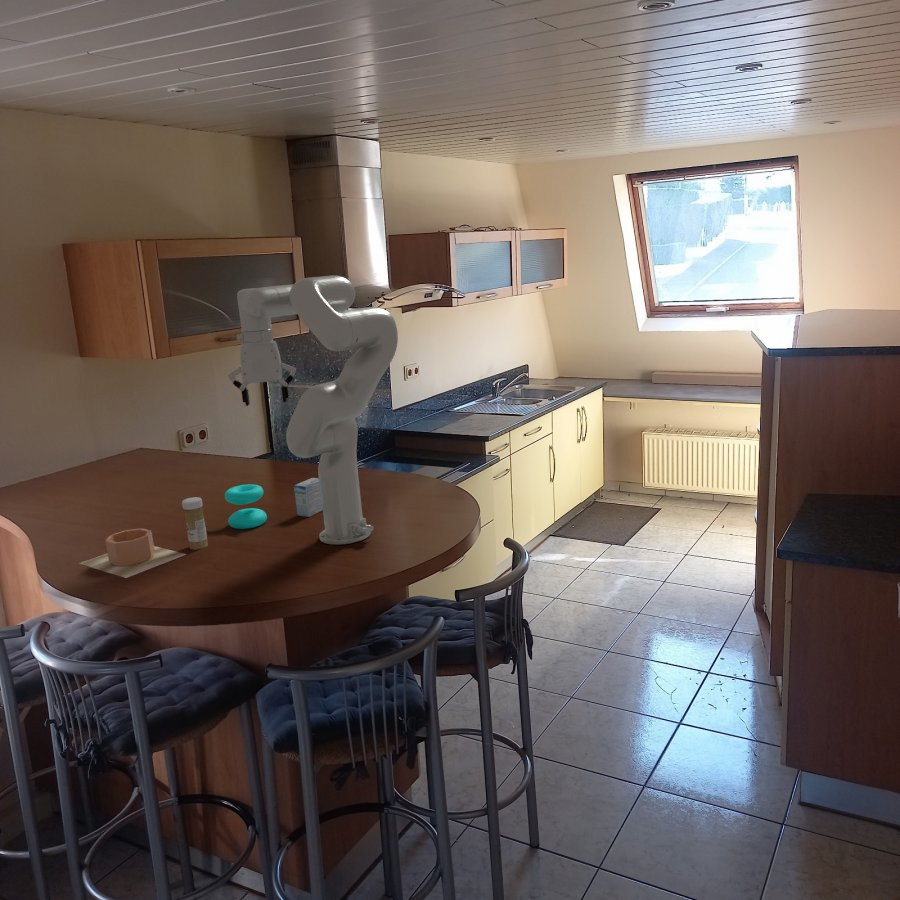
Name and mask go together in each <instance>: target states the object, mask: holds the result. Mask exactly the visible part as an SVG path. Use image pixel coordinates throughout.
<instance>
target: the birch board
mask: <svg viewBox="0 0 900 900" xmlns="http://www.w3.org/2000/svg"><path fill="white" fill-rule="evenodd" d="M154 549H155V551H154V556H153V558H151V559H150V560H148V561H146V562H143V563H140V564H136V565H132V566H114V565H112V564H111V562H110V561H109V559H108V553H104V554H102V555H99V556H95V557H93V558H90V559H87V560H84V561H81V562H78V565H82V566H85V567H89V568H91V569H96V570H98V571H101V572H105V573H108V574H112V575H114V576H118V577H121V578H125V579H127V578H131V577H132V576H134V575H135V576H136V575H139V574H140V573H143V572H145V571H149V570H150V569H154V568H156V567H158V566H161V565H163V564H166V563H169V562H172V561H173V560H176V559H179V558H181V557H184V556H187V553H183V552H179V551H175V550H170V549H167V548H163V547H159V546H155V545H154Z"/></svg>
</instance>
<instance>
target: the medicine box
mask: <svg viewBox="0 0 900 900" xmlns="http://www.w3.org/2000/svg"><path fill="white" fill-rule="evenodd" d="M293 488H294V489H293V490H294V497H295V504H296V513H297V516H300V517H307V518H310V517H312V516H314V515H316V514H319V513H320V512H323V509H322V500H321V492H320V483H319V477H311V478H308V479H306V480H304V481H301V482H299V483H297V484H295V485H294V486H293Z"/></svg>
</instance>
